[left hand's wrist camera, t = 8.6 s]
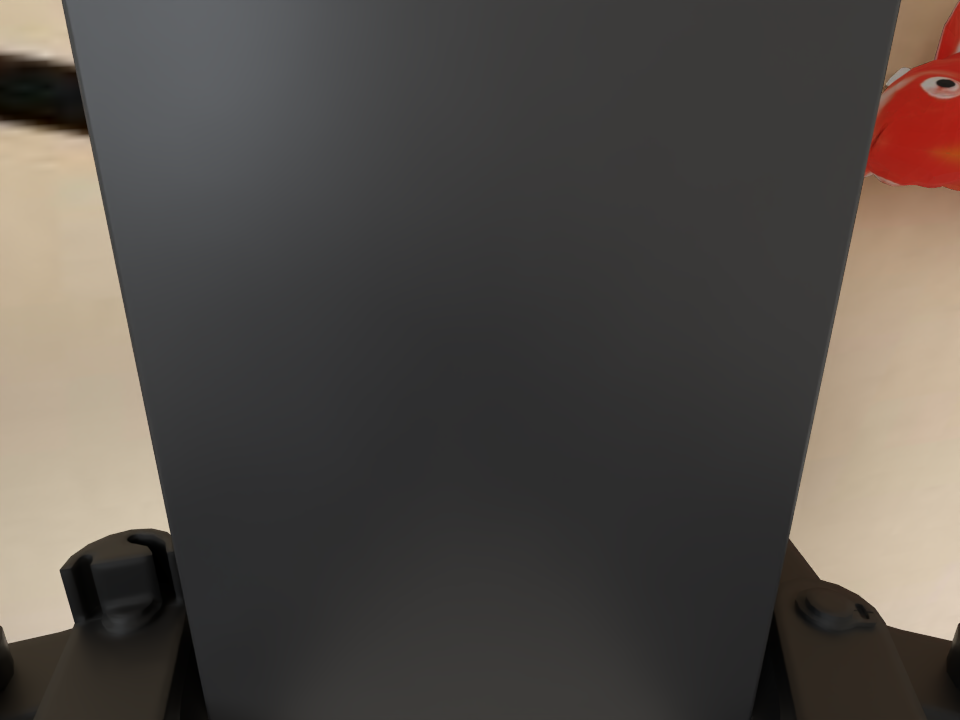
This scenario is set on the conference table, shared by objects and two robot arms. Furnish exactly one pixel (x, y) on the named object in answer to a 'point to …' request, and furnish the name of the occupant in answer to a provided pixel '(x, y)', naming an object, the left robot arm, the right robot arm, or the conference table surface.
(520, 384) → the bar
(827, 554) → the conference table surface
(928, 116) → the fish
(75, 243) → the conference table surface
